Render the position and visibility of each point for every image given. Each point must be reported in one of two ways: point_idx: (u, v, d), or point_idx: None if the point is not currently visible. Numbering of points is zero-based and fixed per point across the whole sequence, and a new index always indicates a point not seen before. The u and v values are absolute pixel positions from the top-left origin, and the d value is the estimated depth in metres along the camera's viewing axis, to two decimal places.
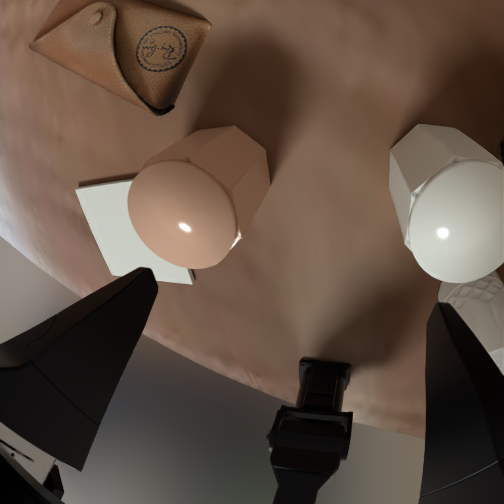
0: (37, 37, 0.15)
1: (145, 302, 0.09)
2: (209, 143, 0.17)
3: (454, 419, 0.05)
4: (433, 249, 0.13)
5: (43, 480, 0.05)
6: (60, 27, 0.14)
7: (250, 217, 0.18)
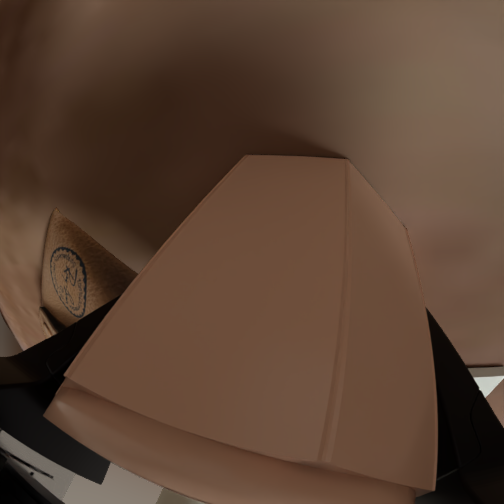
0: None
1: None
2: None
3: None
4: None
5: (62, 496, 0.05)
6: None
7: (331, 299, 0.03)
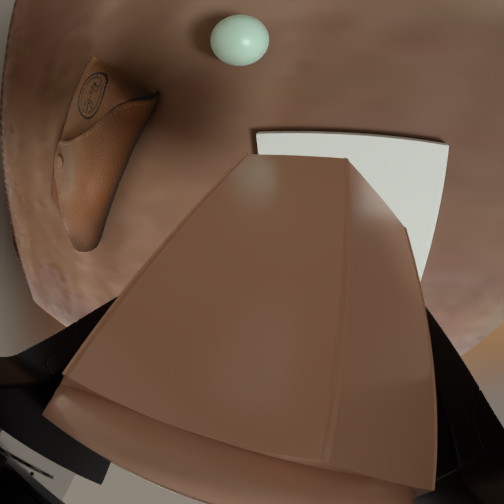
0: None
1: None
2: None
3: None
4: None
5: (62, 496, 0.05)
6: (60, 201, 0.22)
7: (329, 298, 0.03)
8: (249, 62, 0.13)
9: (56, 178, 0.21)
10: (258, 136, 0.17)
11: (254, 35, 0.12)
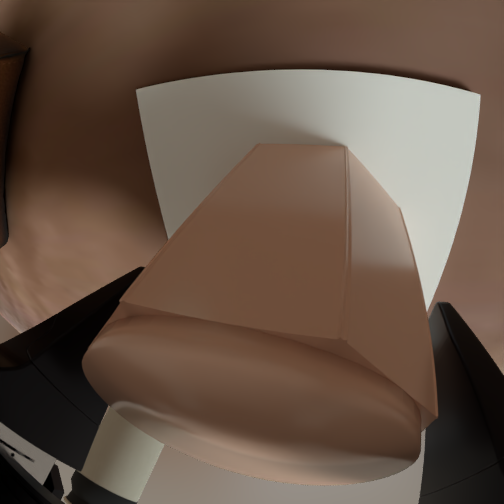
0: None
1: None
2: None
3: (454, 419, 0.05)
4: None
5: (43, 480, 0.05)
6: None
7: (336, 238, 0.05)
8: None
9: None
10: (139, 93, 0.09)
11: None
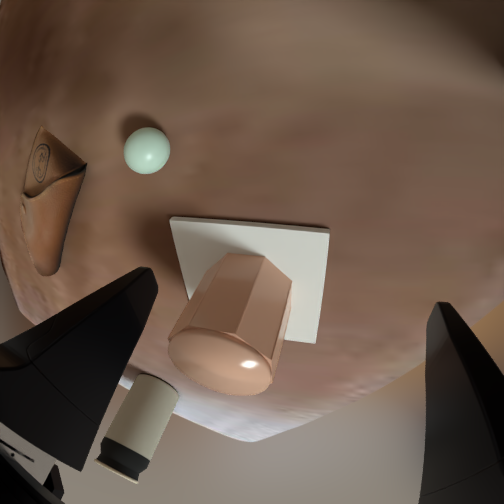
0: None
1: (145, 302, 0.09)
2: (183, 311, 0.21)
3: (454, 419, 0.05)
4: None
5: (43, 480, 0.05)
6: (25, 239, 0.26)
7: (241, 308, 0.18)
8: (153, 172, 0.18)
9: (22, 220, 0.25)
10: (171, 222, 0.22)
11: (152, 154, 0.17)
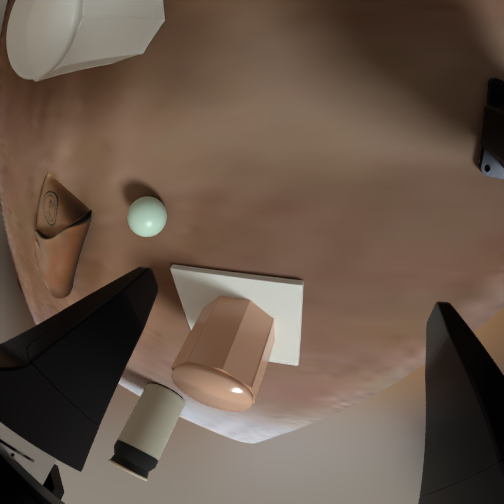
0: None
1: (145, 302, 0.09)
2: (184, 344, 0.25)
3: (454, 419, 0.05)
4: (49, 43, 0.09)
5: (43, 480, 0.05)
6: (40, 269, 0.30)
7: (228, 348, 0.22)
8: (153, 235, 0.23)
9: (36, 253, 0.30)
10: (171, 270, 0.27)
11: (151, 223, 0.21)
